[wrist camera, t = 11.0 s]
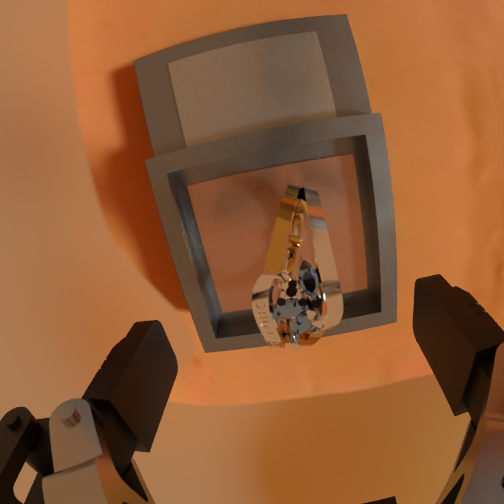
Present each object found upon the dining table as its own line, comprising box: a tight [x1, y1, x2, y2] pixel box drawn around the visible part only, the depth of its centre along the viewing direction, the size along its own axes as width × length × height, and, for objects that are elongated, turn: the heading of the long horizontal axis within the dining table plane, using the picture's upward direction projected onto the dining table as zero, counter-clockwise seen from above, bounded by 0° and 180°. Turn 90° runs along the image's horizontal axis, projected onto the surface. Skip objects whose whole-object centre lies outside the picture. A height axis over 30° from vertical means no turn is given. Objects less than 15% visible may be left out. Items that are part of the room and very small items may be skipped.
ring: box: [252, 184, 343, 350], centre depth 14 cm, size 7×3×8 cm, turn 172°
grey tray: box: [134, 14, 397, 353], centre depth 17 cm, size 18×12×4 cm, turn 12°
